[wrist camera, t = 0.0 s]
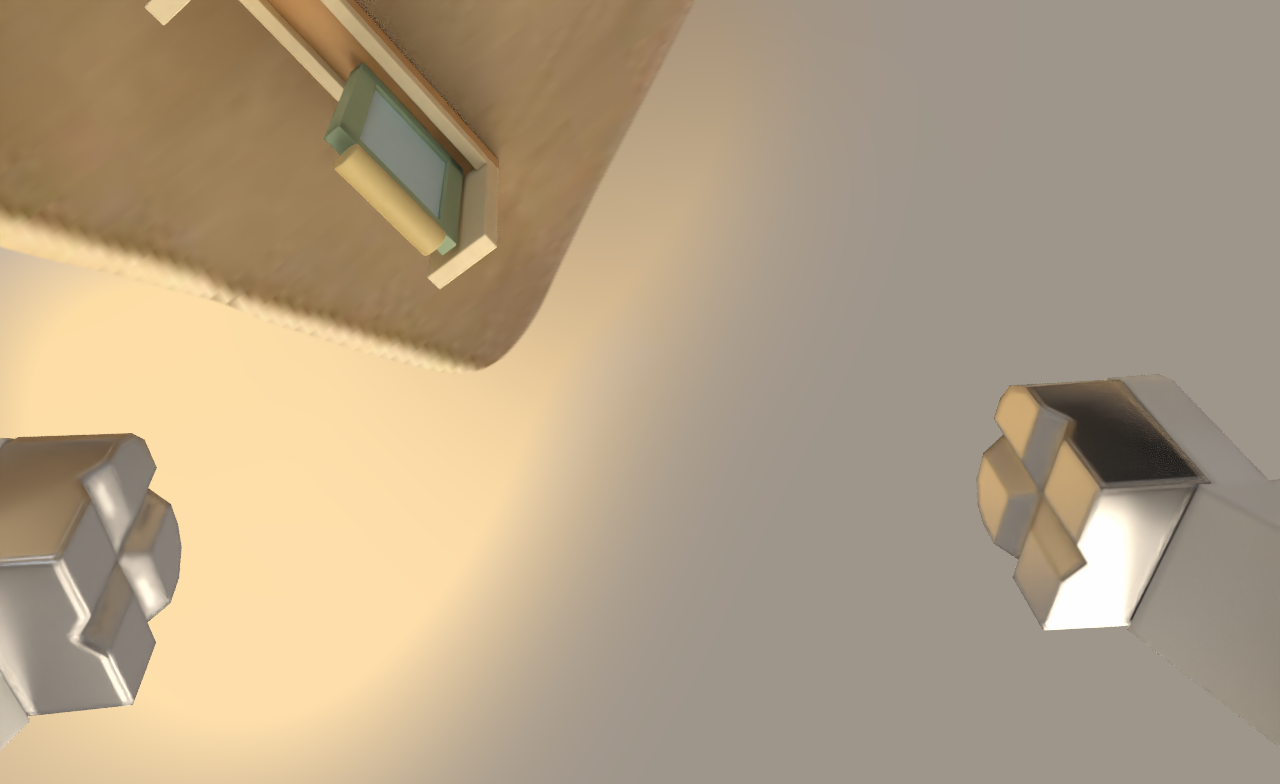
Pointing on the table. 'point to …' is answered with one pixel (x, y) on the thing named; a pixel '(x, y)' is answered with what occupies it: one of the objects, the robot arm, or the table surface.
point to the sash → (396, 163)
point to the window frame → (344, 38)
